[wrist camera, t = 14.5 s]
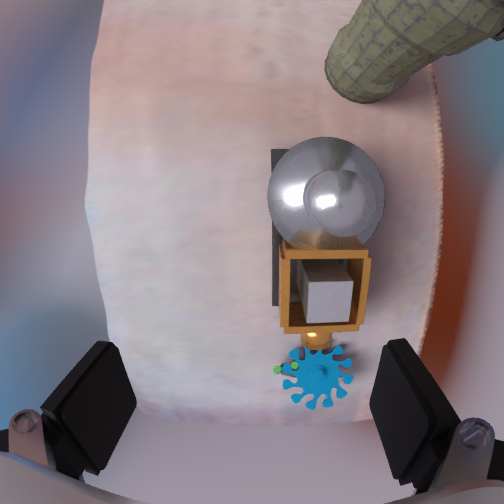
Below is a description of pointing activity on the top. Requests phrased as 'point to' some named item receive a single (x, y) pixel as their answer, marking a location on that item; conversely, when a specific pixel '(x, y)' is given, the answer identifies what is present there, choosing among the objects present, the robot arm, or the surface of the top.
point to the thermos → (405, 41)
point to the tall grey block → (324, 290)
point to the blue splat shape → (315, 375)
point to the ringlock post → (322, 226)
